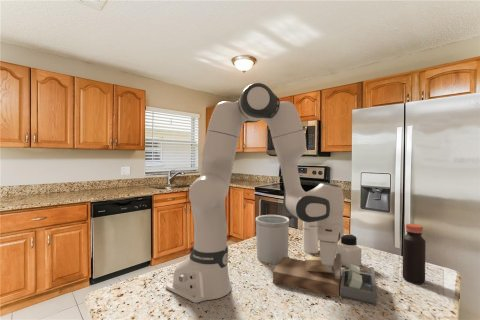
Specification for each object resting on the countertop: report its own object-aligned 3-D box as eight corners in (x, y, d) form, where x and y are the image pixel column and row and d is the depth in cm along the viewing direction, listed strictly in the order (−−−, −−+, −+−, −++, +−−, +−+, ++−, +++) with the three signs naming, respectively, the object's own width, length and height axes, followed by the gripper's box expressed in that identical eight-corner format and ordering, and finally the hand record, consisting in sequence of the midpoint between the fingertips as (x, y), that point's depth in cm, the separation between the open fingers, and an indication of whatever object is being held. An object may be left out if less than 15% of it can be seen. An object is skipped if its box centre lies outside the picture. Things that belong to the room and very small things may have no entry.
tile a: (352, 277, 79) (362, 282, 78) (352, 271, 83) (361, 275, 82) (347, 291, 79) (357, 296, 78) (347, 284, 84) (357, 289, 83)
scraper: (304, 276, 85) (302, 264, 85) (310, 262, 96) (308, 252, 96) (340, 279, 80) (338, 266, 80) (341, 264, 91) (340, 253, 91)
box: (340, 297, 79) (340, 278, 79) (342, 278, 92) (342, 262, 92) (376, 305, 75) (376, 286, 75) (373, 284, 87) (373, 267, 87)
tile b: (350, 269, 85) (359, 273, 84) (350, 264, 89) (359, 267, 88) (346, 283, 85) (356, 286, 84) (347, 276, 90) (356, 280, 89)
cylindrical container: (318, 253, 115) (319, 200, 115) (303, 252, 116) (303, 199, 116) (317, 248, 122) (317, 197, 122) (302, 247, 123) (302, 197, 123)
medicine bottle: (361, 265, 103) (362, 236, 103) (348, 268, 100) (348, 238, 100) (348, 259, 109) (348, 231, 109) (335, 261, 107) (335, 233, 106)
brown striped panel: (272, 282, 89) (272, 271, 89) (283, 266, 101) (283, 257, 101) (339, 297, 79) (339, 284, 79) (341, 278, 92) (341, 267, 92)
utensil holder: (281, 267, 100) (281, 224, 100) (249, 259, 108) (249, 219, 108) (293, 255, 113) (294, 217, 113) (264, 249, 121) (264, 213, 121)
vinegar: (420, 276, 93) (420, 223, 93) (428, 285, 87) (429, 228, 86) (399, 274, 95) (400, 222, 95) (406, 283, 88) (407, 227, 88)
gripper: (324, 221, 98) (324, 256, 98) (316, 236, 79) (316, 279, 79) (341, 223, 95) (341, 259, 95) (337, 239, 76) (337, 283, 77)
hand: (330, 268), depth 87 cm, fingers closed on scraper, 3 cm apart
